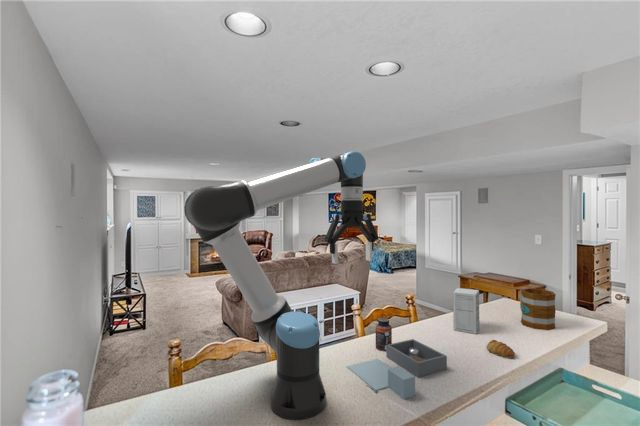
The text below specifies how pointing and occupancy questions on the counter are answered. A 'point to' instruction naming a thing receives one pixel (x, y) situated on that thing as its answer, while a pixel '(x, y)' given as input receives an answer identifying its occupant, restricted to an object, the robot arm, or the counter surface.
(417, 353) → the ball
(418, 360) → the walnut block
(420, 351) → the tub
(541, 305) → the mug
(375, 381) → the lid
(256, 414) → the counter surface
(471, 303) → the supplement box
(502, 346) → the pastry
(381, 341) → the supplement bottle
